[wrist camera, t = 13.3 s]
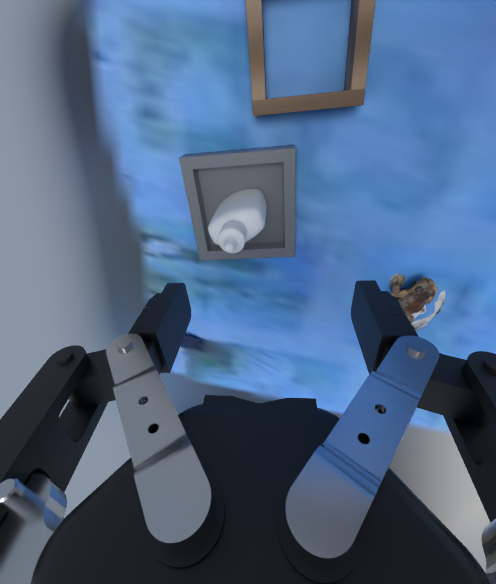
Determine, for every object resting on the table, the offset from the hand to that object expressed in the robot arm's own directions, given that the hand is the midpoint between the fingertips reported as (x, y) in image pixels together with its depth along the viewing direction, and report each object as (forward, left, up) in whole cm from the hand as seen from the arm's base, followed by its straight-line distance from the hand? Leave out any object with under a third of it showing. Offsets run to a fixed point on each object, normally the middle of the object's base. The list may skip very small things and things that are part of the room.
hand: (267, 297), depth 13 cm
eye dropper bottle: (+2, -4, -23) cm, 23 cm away
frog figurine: (+17, +18, -24) cm, 34 cm away
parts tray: (+2, -3, -23) cm, 23 cm away
